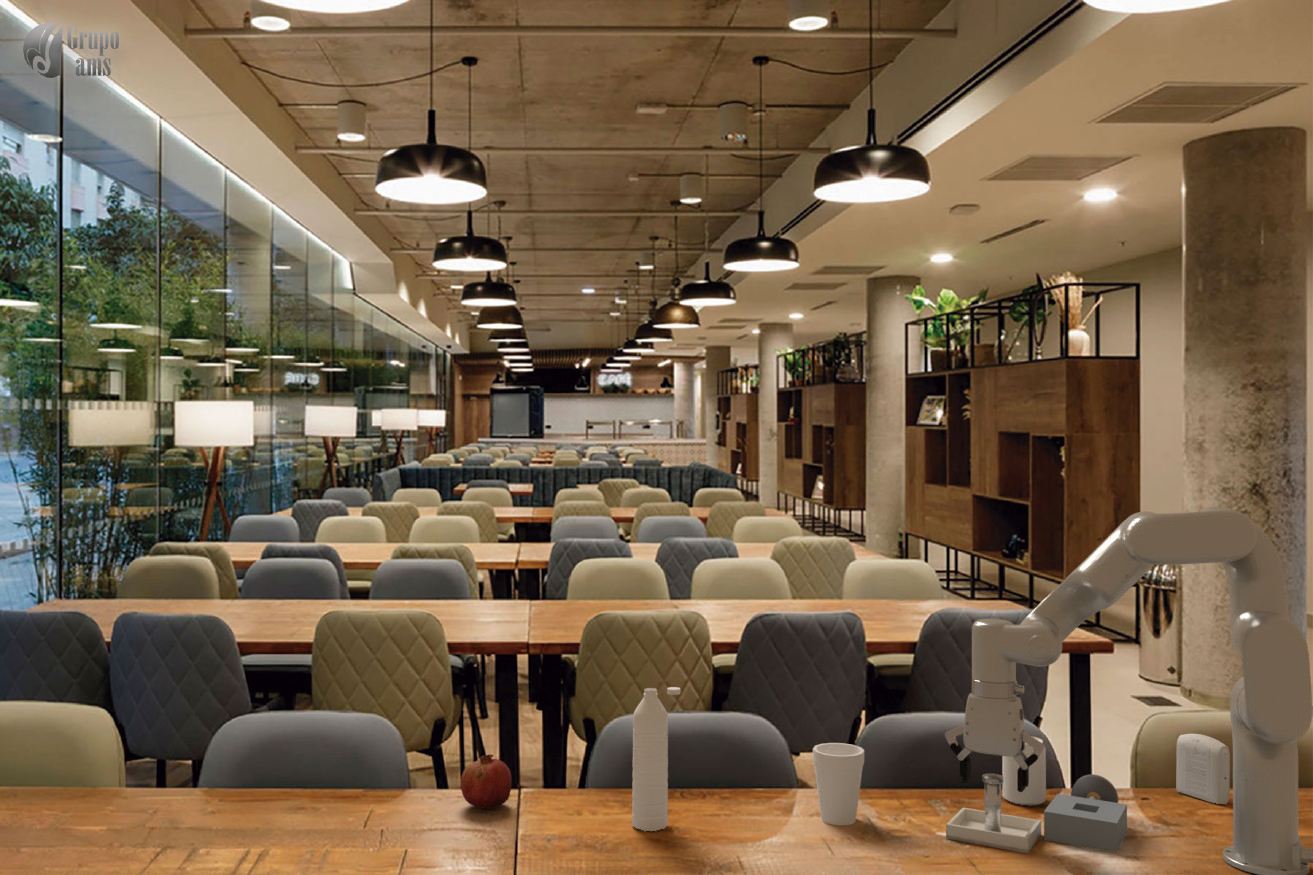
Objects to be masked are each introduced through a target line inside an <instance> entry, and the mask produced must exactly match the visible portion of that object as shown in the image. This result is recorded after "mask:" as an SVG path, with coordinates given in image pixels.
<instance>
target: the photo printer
mask: <svg viewBox="0 0 1313 875" xmlns="http://www.w3.org/2000/svg"><path fill="white" fill-rule="evenodd" d="M1230 754H1231V753H1230V748H1229V747H1228V746H1227V745H1226V744H1224V743H1223V742H1222V741H1220V740H1218V739H1216V738H1213V737H1211V736H1208V735H1204V734H1200V733H1185V734H1180V735H1179V737H1177V741H1176V764H1175V765H1176V767H1175V768H1176V773H1175V775H1176V776H1175V778H1176V779H1175V780H1176V781H1175V782H1176V785H1175V786H1176V791H1177V792H1178V793H1181V794H1184V795H1187V796H1190V797H1194V798H1197V799H1200V800H1203V801H1206V802H1208V803H1213V804H1215V803H1216V805H1218V804H1225V805H1227V803H1228V804H1229V802H1230V796H1231V793H1230V791H1231V790H1230V789H1231V788H1230V785H1231V783H1230V782H1231V781H1230V780H1231V779H1230V778H1231V777H1230V775H1231V772H1230V771H1231V767H1230V766H1231V758H1230V757H1231V755H1230Z"/></svg>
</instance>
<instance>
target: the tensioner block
mask: <svg viewBox="0 0 1313 875" xmlns="http://www.w3.org/2000/svg"><path fill="white" fill-rule="evenodd" d="M1127 833H1128V804H1126V803H1121V802H1120V803H1119V794H1118V792H1117V790H1116V788H1115V786H1114V785H1113V783H1112V782H1111V781H1110V780H1108V778H1105V777H1104V776H1102V775H1098V774H1092V773H1091V774H1086V775H1085V774H1084V775H1082V776H1081V777H1080V778H1078V779H1077V780H1076V782H1075V783H1074V784H1073V786H1072V787H1071V790H1070V795H1069V794H1068V795H1067V794H1062V793H1057V794H1056V795H1055V796H1054V798H1053V799H1052V800H1051V801H1050V802H1049V804H1048V805H1047V807H1046V808H1045V809H1044V811H1043V840H1044V841H1049V842H1055V843H1061V844H1067V845H1072V846H1079V847H1084V848H1089V849H1094V850H1100V851H1107V852H1111V853H1118V852H1119V850H1120V848H1121V846H1122V843H1123V841H1124V839H1125V838H1126V836H1127Z"/></svg>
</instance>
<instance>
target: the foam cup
mask: <svg viewBox="0 0 1313 875" xmlns="http://www.w3.org/2000/svg"><path fill="white" fill-rule="evenodd" d="M812 762H813V764H814V766H813V767H814V772H815V781H816V789H817V798H818V805H819V813H820V820H822V822H823V823H826V824H828V825H834V826H848V825H849V826H850V825H852V824H854V823H855V822H856V820H857V819H856V818H857V815H858V814H857V813H858V805H859V801H860V800H859V798H860V791H861V783H862V777H863V776H862V774H863V767H864V764H865V749H864V748H863V747H861V746H858V745H855V744H849V743H841V742H827V743H820V744H816V745H814V747H813V748H812Z"/></svg>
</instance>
